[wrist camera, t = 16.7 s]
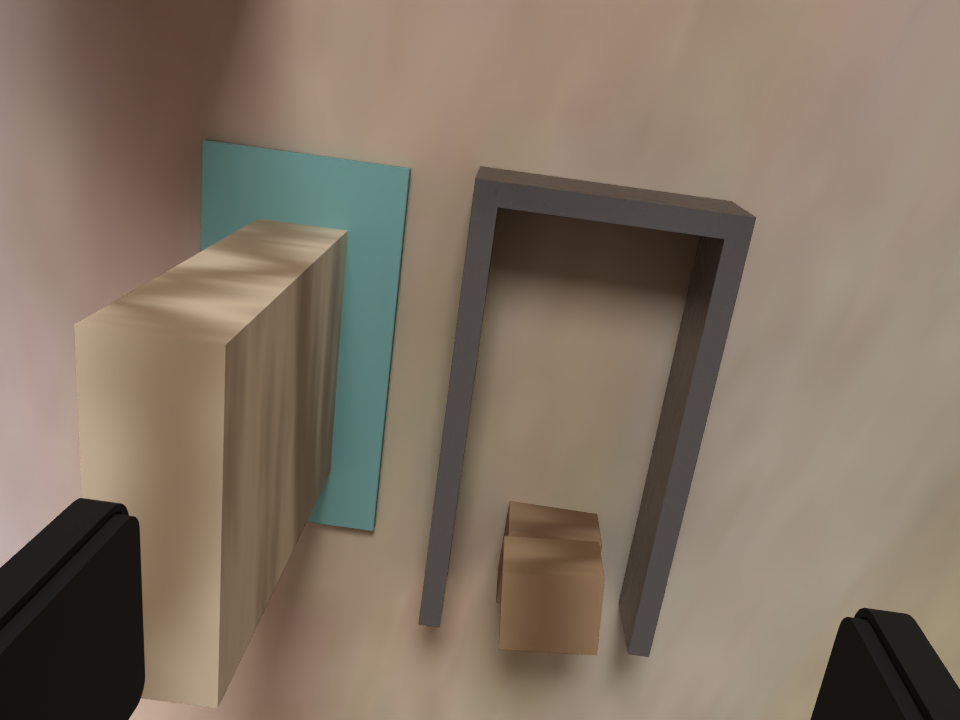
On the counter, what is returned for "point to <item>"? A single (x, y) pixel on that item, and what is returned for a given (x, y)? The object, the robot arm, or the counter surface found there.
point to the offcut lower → (547, 527)
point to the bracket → (687, 385)
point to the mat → (366, 295)
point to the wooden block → (214, 435)
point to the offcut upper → (551, 595)
